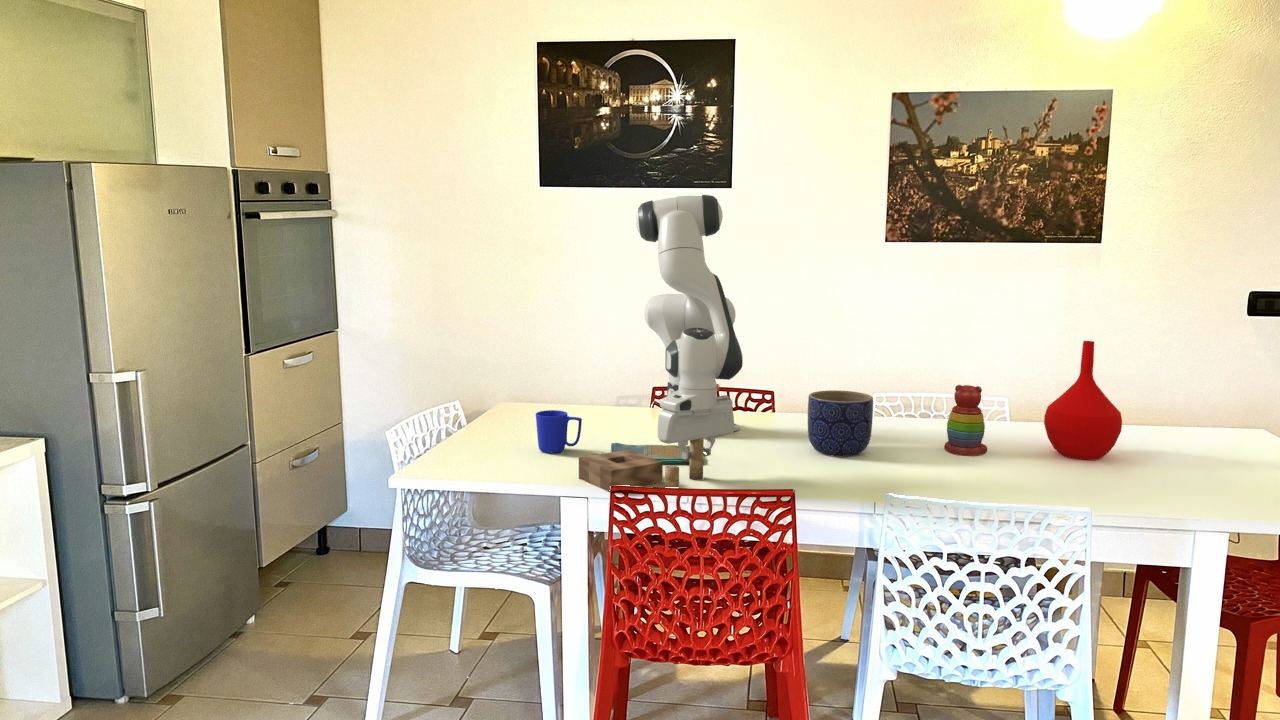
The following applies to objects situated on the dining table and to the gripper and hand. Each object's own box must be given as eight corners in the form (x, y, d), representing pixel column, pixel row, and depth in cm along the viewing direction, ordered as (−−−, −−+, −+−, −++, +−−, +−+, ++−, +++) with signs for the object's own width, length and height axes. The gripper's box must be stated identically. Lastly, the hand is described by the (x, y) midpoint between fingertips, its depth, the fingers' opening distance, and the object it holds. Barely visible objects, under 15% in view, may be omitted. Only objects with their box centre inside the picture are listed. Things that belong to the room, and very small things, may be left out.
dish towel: (610, 450, 256) (610, 441, 256) (699, 450, 257) (699, 441, 256) (609, 467, 239) (609, 457, 239) (704, 467, 240) (704, 457, 239)
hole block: (628, 469, 235) (628, 449, 234) (662, 483, 224) (662, 461, 223) (578, 478, 227) (578, 457, 226) (611, 492, 216) (611, 470, 215)
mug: (577, 456, 247) (577, 418, 246) (531, 453, 250) (531, 415, 248) (585, 448, 255) (585, 411, 254) (541, 446, 258) (541, 409, 256)
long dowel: (697, 475, 230) (698, 434, 229) (705, 478, 227) (706, 437, 226) (686, 477, 228) (687, 436, 227) (694, 480, 226) (695, 438, 224)
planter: (882, 451, 255) (885, 395, 252) (849, 463, 243) (851, 404, 240) (828, 441, 266) (830, 387, 263) (794, 451, 254) (795, 395, 252)
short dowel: (673, 486, 221) (673, 464, 220) (681, 489, 219) (682, 468, 218) (661, 488, 219) (662, 466, 219) (670, 491, 217) (670, 470, 216)
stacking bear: (988, 449, 258) (992, 383, 255) (984, 458, 248) (988, 389, 246) (945, 445, 262) (949, 380, 259) (940, 453, 253) (944, 386, 250)
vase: (1043, 460, 247) (1051, 344, 242) (1040, 444, 264) (1048, 335, 259) (1123, 467, 240) (1133, 348, 236) (1115, 450, 257) (1124, 339, 253)
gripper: (723, 392, 233) (722, 448, 235) (654, 401, 222) (653, 460, 224) (740, 396, 228) (739, 453, 230) (670, 405, 217) (669, 466, 219)
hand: (696, 457), depth 227 cm, fingers open, 4 cm apart
